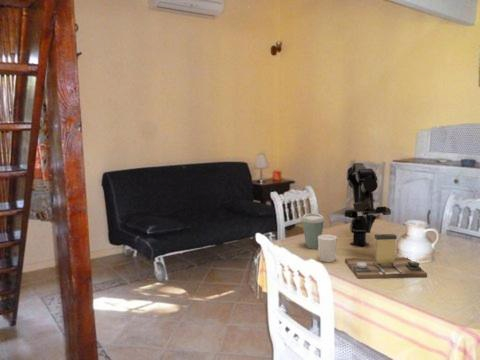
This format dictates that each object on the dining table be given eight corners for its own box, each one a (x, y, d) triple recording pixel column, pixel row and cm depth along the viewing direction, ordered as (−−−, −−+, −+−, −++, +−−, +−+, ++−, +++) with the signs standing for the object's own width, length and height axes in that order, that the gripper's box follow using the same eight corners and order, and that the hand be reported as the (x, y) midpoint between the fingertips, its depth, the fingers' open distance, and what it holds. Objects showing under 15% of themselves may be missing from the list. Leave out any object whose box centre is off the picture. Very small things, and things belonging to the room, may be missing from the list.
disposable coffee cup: (326, 249, 183) (326, 218, 181) (302, 250, 184) (302, 218, 182) (322, 242, 194) (322, 212, 192) (299, 243, 194) (299, 213, 192)
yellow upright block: (373, 264, 159) (374, 233, 158) (392, 264, 159) (393, 233, 158) (376, 268, 155) (377, 236, 154) (396, 267, 155) (397, 236, 154)
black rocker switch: (407, 263, 156) (407, 261, 156) (414, 263, 156) (414, 261, 156) (411, 265, 152) (411, 263, 152) (419, 265, 152) (419, 263, 152)
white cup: (325, 264, 165) (326, 240, 164) (314, 258, 172) (314, 236, 171) (340, 260, 169) (340, 237, 168) (328, 255, 176) (328, 233, 174)
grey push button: (355, 265, 156) (355, 261, 156) (364, 265, 156) (365, 261, 156) (358, 268, 152) (358, 265, 152) (367, 268, 152) (368, 265, 152)
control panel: (345, 261, 167) (345, 256, 167) (406, 260, 168) (407, 254, 167) (358, 279, 149) (358, 272, 149) (427, 277, 149) (427, 271, 149)
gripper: (337, 196, 174) (338, 231, 170) (379, 190, 162) (381, 229, 158) (349, 200, 182) (351, 234, 178) (390, 195, 170) (392, 232, 166)
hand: (368, 232), depth 170 cm, fingers closed
